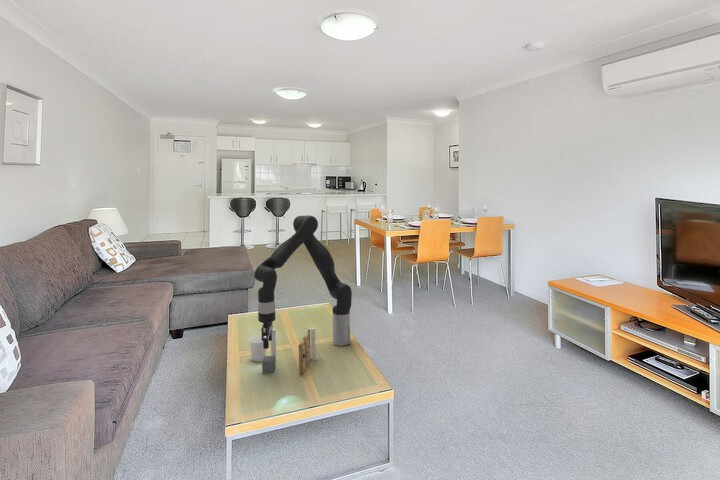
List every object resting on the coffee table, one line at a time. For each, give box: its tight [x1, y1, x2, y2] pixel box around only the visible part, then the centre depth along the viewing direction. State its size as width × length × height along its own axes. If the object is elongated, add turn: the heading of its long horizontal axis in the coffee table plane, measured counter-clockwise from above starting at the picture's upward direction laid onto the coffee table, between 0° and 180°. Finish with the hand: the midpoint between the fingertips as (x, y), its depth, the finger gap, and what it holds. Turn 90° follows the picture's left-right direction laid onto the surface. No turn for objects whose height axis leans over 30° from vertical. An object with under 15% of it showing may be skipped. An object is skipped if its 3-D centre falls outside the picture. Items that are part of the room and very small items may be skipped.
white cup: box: [249, 335, 267, 363], centre depth 181 cm, size 8×8×10 cm
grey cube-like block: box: [261, 355, 276, 375], centre depth 170 cm, size 5×5×6 cm
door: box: [298, 329, 311, 375], centre depth 172 cm, size 16×2×15 cm, turn 173°
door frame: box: [270, 326, 317, 362], centre depth 179 cm, size 21×2×16 cm, turn 94°
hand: (267, 344), depth 168 cm, fingers open, 8 cm apart
